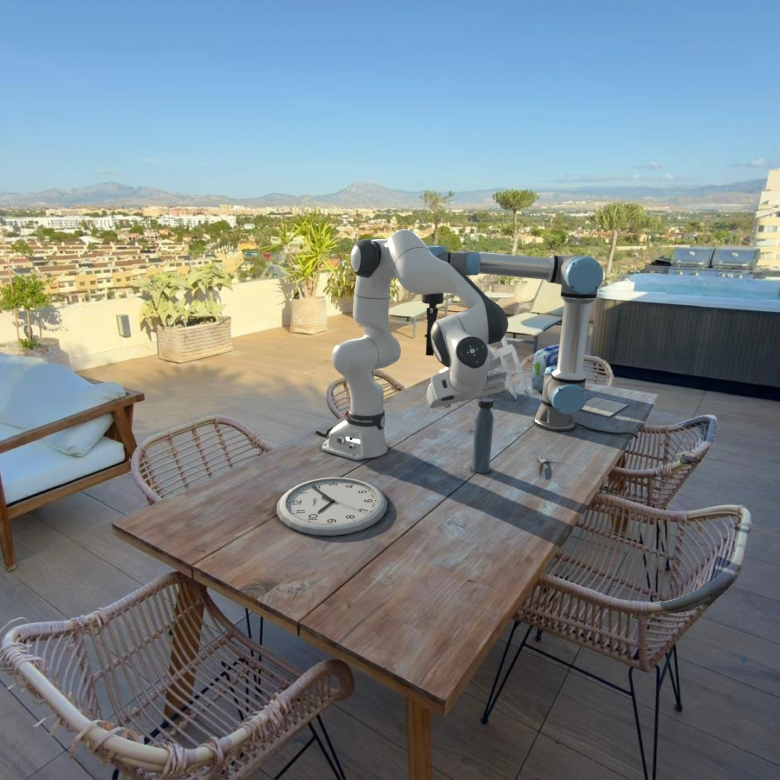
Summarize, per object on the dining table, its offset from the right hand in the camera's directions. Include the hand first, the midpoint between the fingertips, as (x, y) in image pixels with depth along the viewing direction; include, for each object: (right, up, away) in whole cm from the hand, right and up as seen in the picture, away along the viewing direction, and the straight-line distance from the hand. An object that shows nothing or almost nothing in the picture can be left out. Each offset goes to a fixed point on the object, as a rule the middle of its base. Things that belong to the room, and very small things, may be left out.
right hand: (430, 351), depth 189 cm
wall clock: (-30, -46, -46) cm, 72 cm away
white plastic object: (+27, -15, +54) cm, 63 cm away
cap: (+14, -17, -30) cm, 38 cm away
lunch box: (+63, -14, +61) cm, 89 cm away
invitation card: (+77, -21, +37) cm, 88 cm away
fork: (+34, -39, -20) cm, 56 cm away
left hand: (+5, -17, -48) cm, 51 cm away
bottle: (+14, -39, -23) cm, 48 cm away
